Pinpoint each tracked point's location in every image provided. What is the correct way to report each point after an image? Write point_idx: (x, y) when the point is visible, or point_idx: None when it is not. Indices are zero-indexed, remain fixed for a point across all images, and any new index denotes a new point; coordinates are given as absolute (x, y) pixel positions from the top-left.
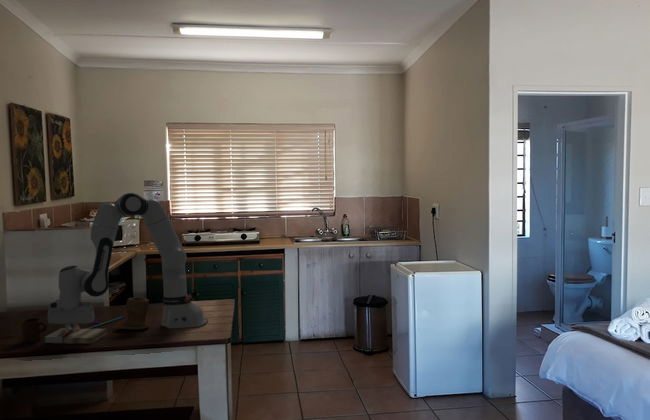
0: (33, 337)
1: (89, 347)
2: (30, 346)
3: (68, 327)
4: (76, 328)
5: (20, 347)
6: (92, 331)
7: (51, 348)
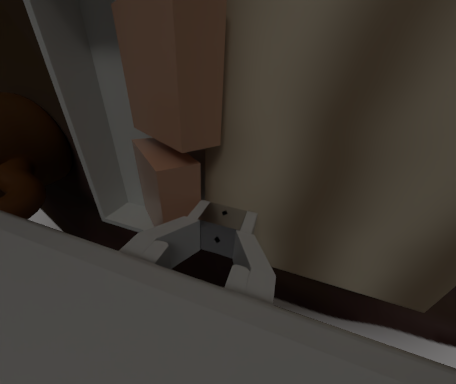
0: (46, 184)
1: (389, 325)
2: (105, 222)
3: (183, 255)
4: (204, 82)
5: (83, 223)
6: (430, 115)
7: (201, 271)
